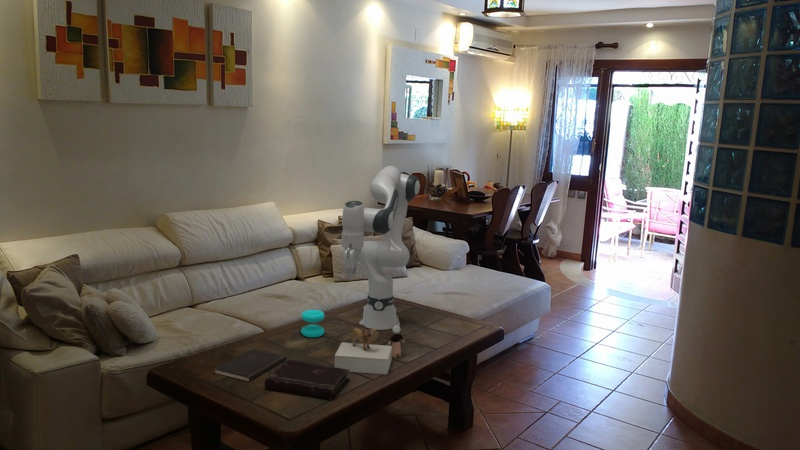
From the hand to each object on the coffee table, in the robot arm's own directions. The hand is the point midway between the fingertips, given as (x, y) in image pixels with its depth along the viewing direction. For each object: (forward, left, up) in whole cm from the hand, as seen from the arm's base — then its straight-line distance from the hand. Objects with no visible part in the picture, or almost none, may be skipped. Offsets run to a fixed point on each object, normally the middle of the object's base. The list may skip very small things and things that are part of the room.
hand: (351, 276), depth 250 cm
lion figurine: (+11, +7, -25) cm, 29 cm away
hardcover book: (+24, -33, -32) cm, 52 cm away
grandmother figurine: (+3, +19, -31) cm, 37 cm away
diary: (+35, -9, -32) cm, 48 cm away
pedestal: (+15, +8, -31) cm, 35 cm away
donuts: (-15, -19, -31) cm, 40 cm away
